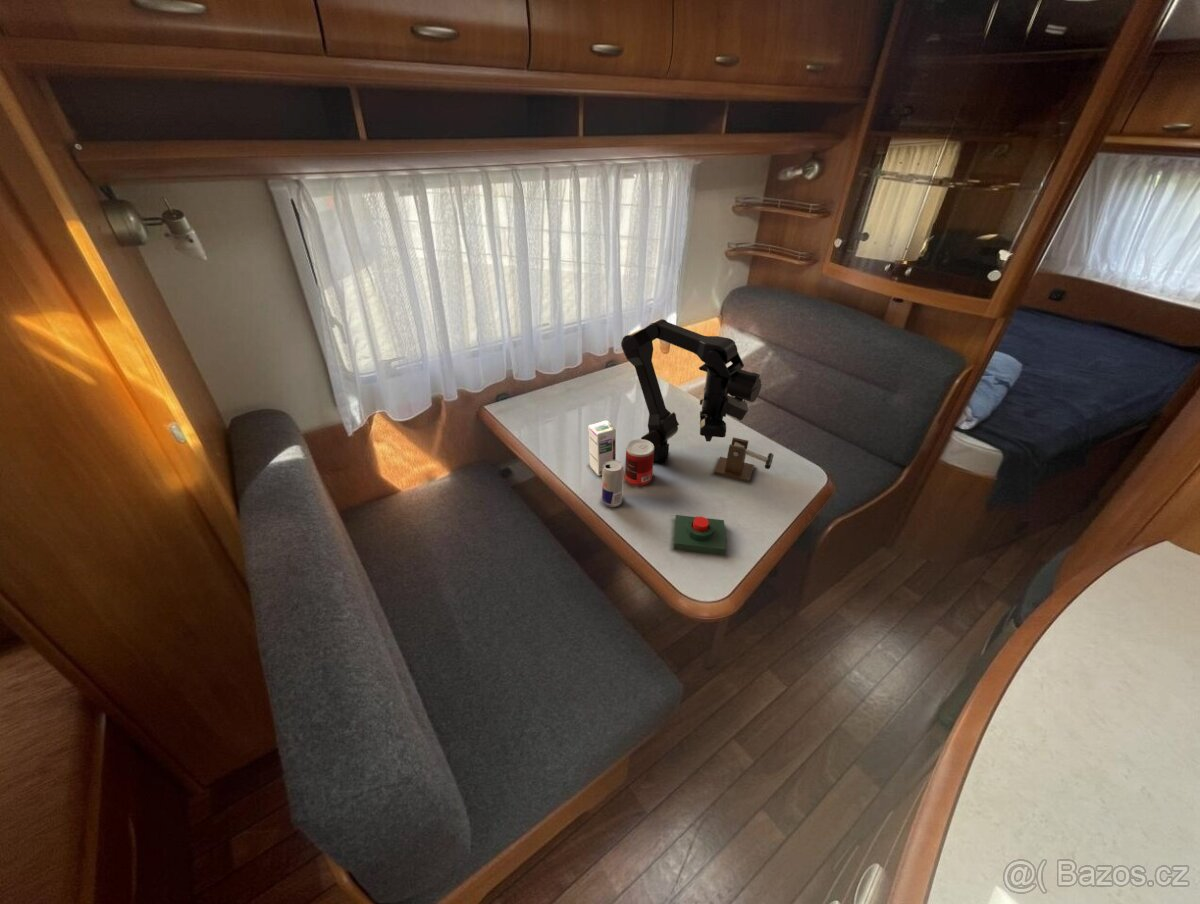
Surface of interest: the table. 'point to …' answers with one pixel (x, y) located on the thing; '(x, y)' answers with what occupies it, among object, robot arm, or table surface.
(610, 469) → the energy drink
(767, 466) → the lever
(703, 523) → the button
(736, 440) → the bracket
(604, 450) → the syrup box
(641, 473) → the canned food
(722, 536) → the button box
